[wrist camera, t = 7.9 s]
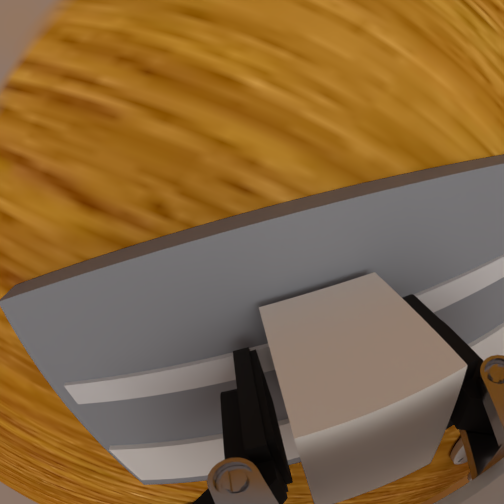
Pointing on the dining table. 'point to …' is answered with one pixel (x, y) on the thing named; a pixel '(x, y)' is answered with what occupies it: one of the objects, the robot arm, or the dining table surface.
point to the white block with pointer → (361, 384)
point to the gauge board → (251, 304)
